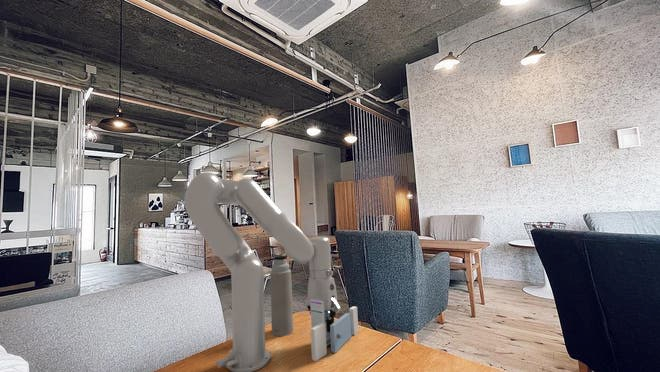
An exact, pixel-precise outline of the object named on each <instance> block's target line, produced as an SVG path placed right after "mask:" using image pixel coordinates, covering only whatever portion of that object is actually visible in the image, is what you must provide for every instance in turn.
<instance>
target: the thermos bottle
mask: <svg viewBox="0 0 660 372" xmlns="http://www.w3.org/2000/svg"><path fill="white" fill-rule="evenodd" d="M287 257H288V256H287V255H277V256H274V257H273V264H272V266H271V271H270V272H269V273H270V274H269V275H270V277H269V278H270V279H269V280H270V282H269V283H270V311H271V312H270V313H271V314H270V315H271V334H272V335H273V336H276V337H284V336H288V335H291V334H292V333H293V331H294V318H293V317H294V315H293V312H294V310H293V287H292V284H293V283H292V269H290V264H289V263H288V262H287V261H288V260H287Z"/></svg>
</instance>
